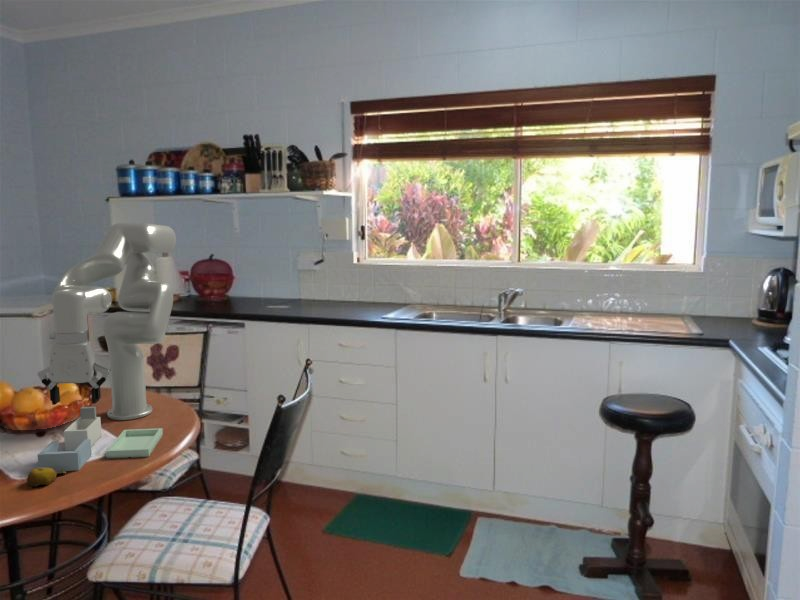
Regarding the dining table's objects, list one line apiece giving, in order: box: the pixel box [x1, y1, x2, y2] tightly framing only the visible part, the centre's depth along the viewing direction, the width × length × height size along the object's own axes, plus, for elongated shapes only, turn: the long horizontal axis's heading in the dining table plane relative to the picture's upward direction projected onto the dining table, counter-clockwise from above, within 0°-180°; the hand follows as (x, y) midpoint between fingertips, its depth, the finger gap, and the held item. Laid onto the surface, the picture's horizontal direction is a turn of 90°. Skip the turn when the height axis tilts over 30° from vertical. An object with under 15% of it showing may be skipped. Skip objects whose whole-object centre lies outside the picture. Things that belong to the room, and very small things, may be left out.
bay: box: [37, 439, 93, 472], centre depth 150 cm, size 9×9×4 cm
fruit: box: [26, 467, 67, 489], centre depth 142 cm, size 8×8×4 cm
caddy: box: [63, 406, 103, 451], centre depth 162 cm, size 10×6×9 cm, turn 8°
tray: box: [105, 427, 164, 460], centre depth 162 cm, size 15×10×2 cm
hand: (76, 402), depth 158 cm, fingers open, 9 cm apart
